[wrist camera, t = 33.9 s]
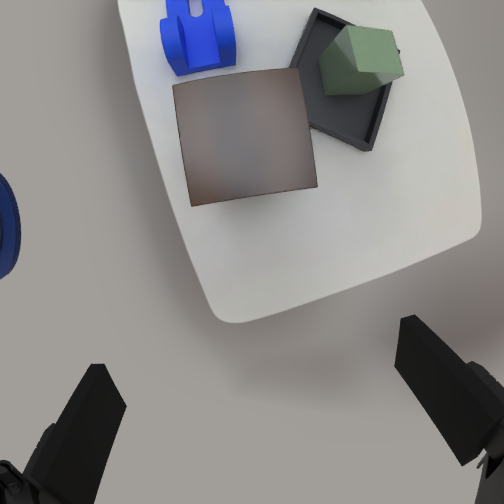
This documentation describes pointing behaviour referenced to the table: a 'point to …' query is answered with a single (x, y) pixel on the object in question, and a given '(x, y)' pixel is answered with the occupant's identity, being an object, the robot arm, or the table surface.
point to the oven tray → (336, 106)
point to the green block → (359, 61)
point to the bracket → (198, 37)
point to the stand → (244, 135)
